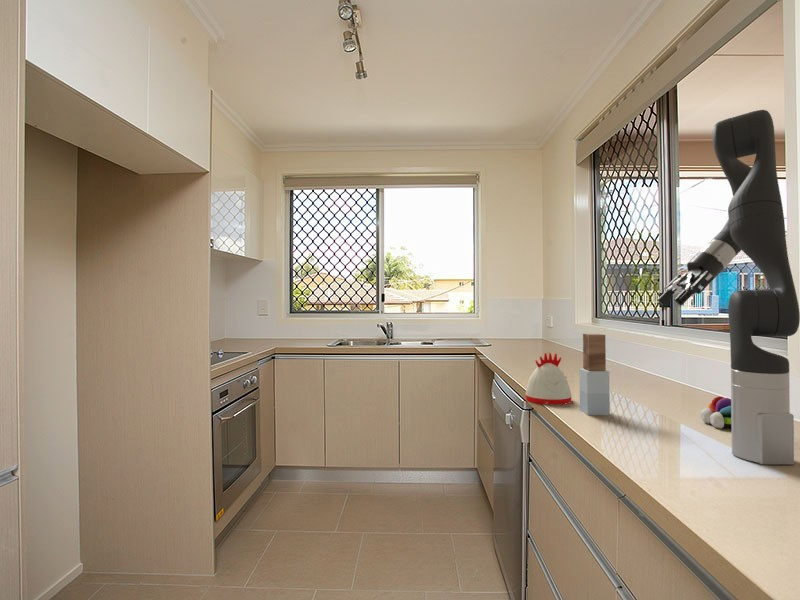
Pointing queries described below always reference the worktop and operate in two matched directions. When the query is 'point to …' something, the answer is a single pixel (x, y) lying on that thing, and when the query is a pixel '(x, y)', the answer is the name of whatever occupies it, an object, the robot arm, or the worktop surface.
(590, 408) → the tower base
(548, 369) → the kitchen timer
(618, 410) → the worktop surface
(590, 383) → the tower top
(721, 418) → the multicoloured plush toy
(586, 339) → the walnut post
